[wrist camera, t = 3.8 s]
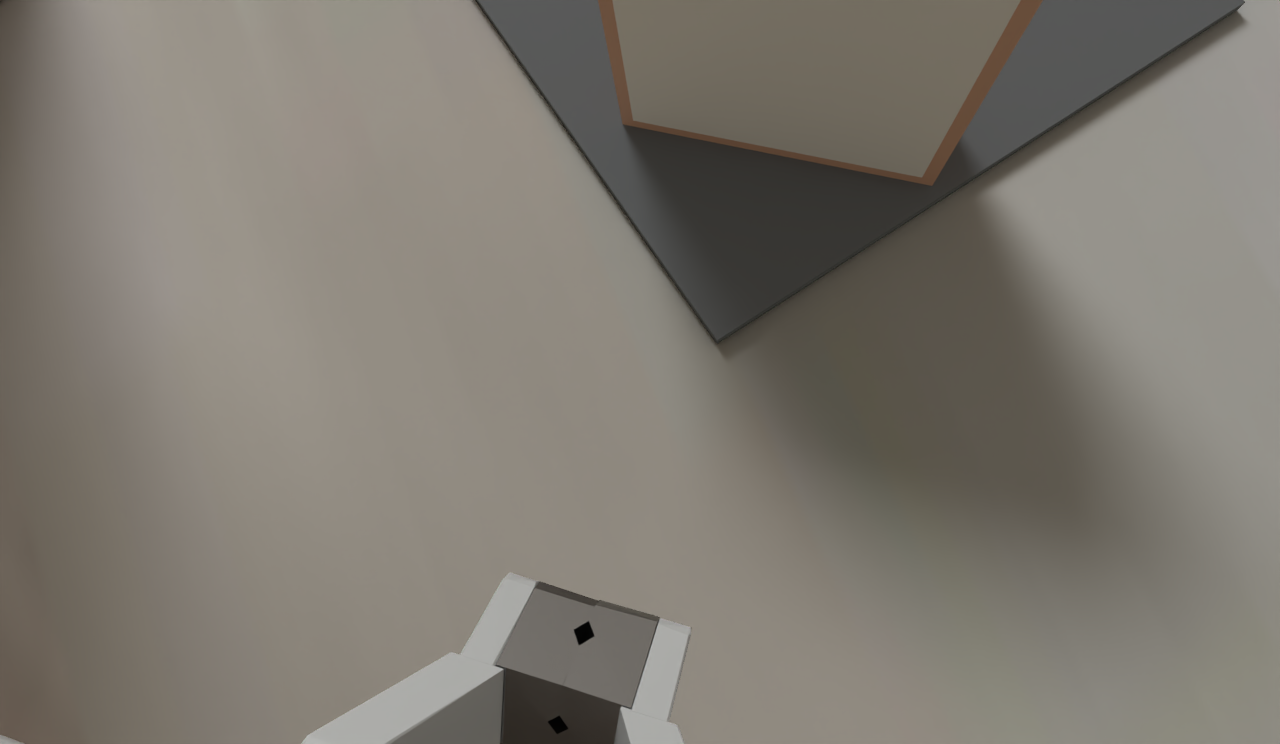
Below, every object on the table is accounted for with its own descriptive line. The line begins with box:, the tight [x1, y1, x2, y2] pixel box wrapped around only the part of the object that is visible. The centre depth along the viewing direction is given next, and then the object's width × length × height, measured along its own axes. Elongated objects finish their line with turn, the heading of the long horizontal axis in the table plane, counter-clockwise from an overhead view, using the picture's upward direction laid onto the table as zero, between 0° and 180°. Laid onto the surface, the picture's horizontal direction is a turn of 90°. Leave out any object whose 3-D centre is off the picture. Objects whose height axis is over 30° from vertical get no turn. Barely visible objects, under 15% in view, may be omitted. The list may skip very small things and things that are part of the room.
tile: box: [598, 0, 1043, 186], centre depth 23 cm, size 3×12×11 cm, turn 74°
